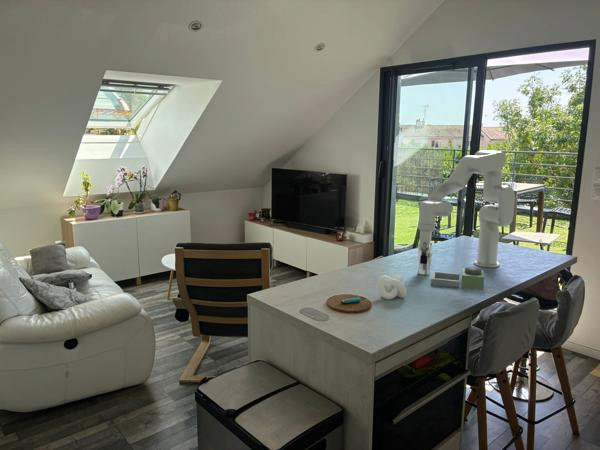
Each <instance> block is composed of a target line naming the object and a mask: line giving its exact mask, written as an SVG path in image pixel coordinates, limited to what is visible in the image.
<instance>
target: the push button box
mask: <svg viewBox="0 0 600 450" xmlns="http://www.w3.org/2000/svg"><path fill="white" fill-rule="evenodd" d="M484 273H485V272H484V269H482V268H480V267H475V266H467V267H462V270H461V274H460V273H456V272H454V273H453V272H445V271H444V272H443V271H434V270H433V271H432V277H431V286H436V287H437V286H439V287H446V288H455V287H456V288H457V289H460V283H461V289H464V290H465V289H467V290H468V289H469V290H476V291H477V290H478V291H484V285H485V275H484ZM460 275H461V277H460ZM460 278H461V281H460Z"/></svg>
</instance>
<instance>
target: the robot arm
mask: <svg viewBox="0 0 600 450" xmlns="http://www.w3.org/2000/svg"><path fill="white" fill-rule="evenodd" d="M507 160H508V157H507V154H506V153H505V152H502V151H498V150H488V149H487V150H477V151H476V152H475V153H474V155H473V154H471V155H470V154H469V155H464V156H462V157H461V159H460V160H459V161H458V163H457V164H456V166H455V168H454V170H453V171H452V173H451V174H450V176H449V177H448V179H447V180H445V181H444V182H442V183H441V184H440V185H438V186H437V187H435V188H434V190H432V192H431V193H430V195H429V197H428V198H427V200H423V201H421V202H420V204H419V215H418V230H419V231H420V232H419V242H418V247H419V251H420V250H421V249H422V250H421V256H420V263H421V264H427V251H429V248H430V244H432V232H434V231H435V227H436V217H440V218H441V217H443V218H445V217H448V216H450V215H452V213H453V210H454V207H453V205H452V203H451V202H449V201H445V200H444V198H446V196H448V195H450V194H452V193H455V192H459V191H461V190H463V189H464V188H465V187H466V185H467V184H468V182H469V181H470V178H471V177H472V176H473V174H478V175H482V174H483V187H482V189H483V191H482V196H483V197H482V198H483V200H484V201H485V202H488V203H492V204H484V205H482V207H480V208H479V212H478V220H479V233H478V246H477V256H476V257H477V259H475V260H474V261H473V264H474V265H475V266H478V267H481V268H490V269H491V268H493V269H494V268H498V267H500V264H501V263H500V262H499V261H498V249H499V239H500V237H499V236H500V228H499V227H503V228H505V227H508V226H510V225H511V224H512V222H513V220H514V216H515V206H516V205H515V203H516V193H515V191H514V189H513V188H512V187H511V186H509V185H503V174H502V169H503V168H504V167H505V165H506V164H507V162H508V161H507ZM494 204H497V205H494ZM426 249H427V250H426Z"/></svg>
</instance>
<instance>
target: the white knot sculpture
mask: <svg viewBox="0 0 600 450" xmlns="http://www.w3.org/2000/svg"><path fill="white" fill-rule="evenodd" d="M377 290H378V292H379V294H380V296H381V297H382V298H383V299H384V300H393V299H394V298H396V296H397V297H398V298H400V299H401V298H402V299H403V298H405V297H406V296H407V293H408V292H407V288H406V286H405V284H404V283H403V277H402V275H400V274H397V275H394V277H393V278H392V277H391V276H389V275H386V274H384V275H381V276H380V277H379V279H378V281H377Z"/></svg>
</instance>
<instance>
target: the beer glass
mask: <svg viewBox="0 0 600 450" xmlns="http://www.w3.org/2000/svg"><path fill="white" fill-rule="evenodd" d="M417 247H418V248H417V259H418V269H417V274H418V275H420V276H429V275H430V276H431V263H432V259H433V248H434V247H433V243H431V244H430V248H429V251H427V264H421V263H420V256H421V250H422V249H421V250H420V251H419V246H417ZM426 250H427V249H426Z"/></svg>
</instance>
